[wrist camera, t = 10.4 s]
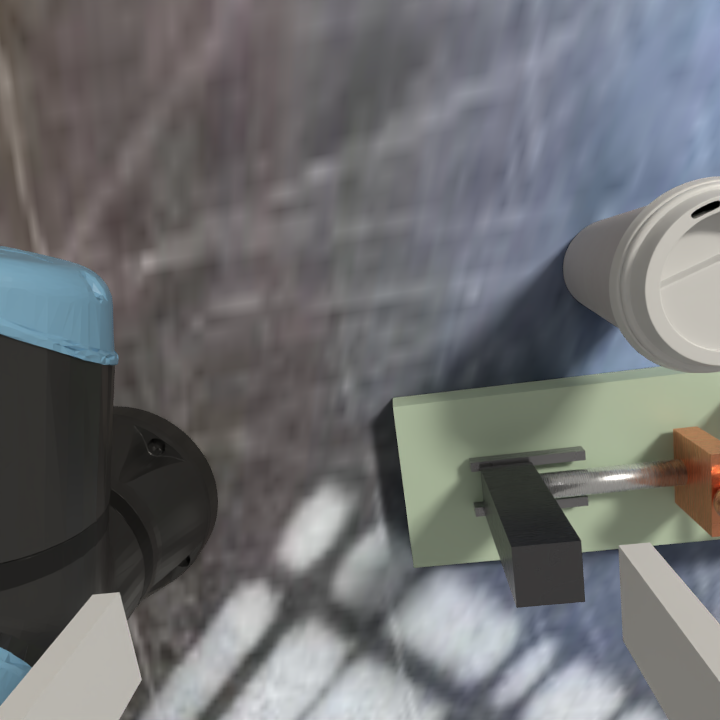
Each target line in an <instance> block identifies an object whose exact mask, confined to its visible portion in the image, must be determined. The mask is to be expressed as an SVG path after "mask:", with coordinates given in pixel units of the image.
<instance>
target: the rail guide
mask: <svg viewBox="0 0 720 720" xmlns="http://www.w3.org/2000/svg"><path fill="white" fill-rule="evenodd" d="M581 460H586V454H585V450H584V449H583V448H582V447H581V446H576V447H567V448H558V449H549V450H539V451H530V452H521V453H512V454H502V455H493V456H484V457H475V458H469V465H470V469H471V472H477V471H480V468H482V467H491V466H500V465H510V464H519V463H528V462H532V463H533V465H543V464H553V463H562V462H571V461H581ZM555 500H556V501H557V503H558V505H559V506H560V508H570V507H580V506H588V496H587V495H583V496H573V497H563V498H555ZM473 504H474V512H475V515H476V517H479V516H485V512H484V501H481V502H473Z"/></svg>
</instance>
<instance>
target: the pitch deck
mask: <svg viewBox="0 0 720 720" xmlns="http://www.w3.org/2000/svg"><path fill="white" fill-rule="evenodd" d="M393 412H394V419H395V427H396V435H397V442H398V450H399V458H400V465H401V473H402V481H403V488H404V496H405V504H406V511H407V519H408V527H409V534H410V542H411V550H412V557H413V565H414V568H419V567H429V566H440V565H451V564H461V563H472V562H483V561H494V560H500V557H499V554H498V551H497V548H496V546H495V543H494V540H493V537H492V534H491V531H490V528H489V525H488V522H487V519H486V516H479V517H476V515H475V512H474V504H473V502H481V501H483V491H482V481H481V471H477V472H471V469H470V465H469V458H475V457H484V456H493V455H502V454H512V453H521V452H530V451H539V450H549V449H558V448H567V447H576V446H581V447H582V448H583V449H584V450H585V454H586V460H581V461H571V462H562V463H553V464H543V465H534V467H535V468H536V470H537V471H538V473H548V472H557V471H567V470H576V469H586V468H595V467H605V466H615V465H624V464H634V463H643V462H653V461H662V460H672V459H674V447H673V429H677V428H686V427H695V426H697V427H699V428H700V429H702V430H704V431H705V432H707V433H709V434H710V435H712V436H713V437H715V438H717V439H718V440H720V372H713V373H687V372H680V371H675V370H671V369H668V368H665V367H662V366H661V367H652V368H644V369H635V370H627V371H618V372H610V373H601V374H593V375H584V376H576V377H567V378H559V379H550V380H542V381H533V382H525V383H516V384H508V385H499V386H491V387H482V388H474V389H465V390H457V391H448V392H440V393H431V394H423V395H414V396H406V397H397V398H393ZM587 496H588V506H580V507H570V508H561V509H562V511H563V513H564V514H565V516H566V517H567V519H568V520H569V522H570V524H571V525H572V527H573V528H574V530H575V532H576V533H577V535H578V536H579V538H580V539H581V545H582V552H590V551H601V550H611V549H619V545H628V544H638V543H649V542H650V543H651V544H652V545H653V546H654V545H665V544H676V543H686V542H697V541H708V540H718V539H720V536H719V537H711V536H710V535H709V534H708V533H707V532H706V531H705V530H704V529H703V528H702V527H701V526H699V525H698V524H697V523H696V522H695V521H694V520H693V519H692V518H691V517H690V516H689V515H688V514H687V513H686V512H684V511H683V510H682V509H681V508H680V507H679V506H678V505H677V504H676V503H675V488H674V486H672V487H662V488H652V489H642V490H632V491H622V492H612V493H602V494H593V495H587Z"/></svg>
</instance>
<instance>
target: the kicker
mask: <svg viewBox="0 0 720 720" xmlns="http://www.w3.org/2000/svg"><path fill="white" fill-rule="evenodd" d="M673 447H674V459H672V460H662V461H653V462H643V463H634V464H624V465H615V466H605V467H595V468H586V469H576V470H567V471H557V472H548V473H538V471H537V470H536V468H535V467H534V465H533V463H532V462H528V463H519V464H510V465H500V466H491V467H482V468H480V471H481V481H482V491H483V501H484V512H485V516H486V519H487V522H488V525H489V528H490V531H491V534H492V537H493V540H494V543H495V546H496V548H497V551H498V554H499V557H500V560H501V563H502V566H503V569H504V572H505V575H506V578H507V581H508V583H509V586H510V589H511V592H512V595H513V598H514V601H515V604H516V607H517V608H518V607H529V606H541V605H552V604H564V603H575V602H585V594H584V578H583V561H582V545H581V539H580V538H579V536H578V535H577V533H576V532H575V530H574V528H573V527H572V525H571V524H570V522H569V520H568V519H567V517H566V516H565V514H564V513H563V511H562V509H561V508H560V506H559V505H558V503H557V501H556V500H555V498H563V497H573V496H583V495H593V494H602V493H612V492H622V491H632V490H642V489H652V488H662V487H672V486H674V488H675V503H676V504H677V505H678V506H679V507H680V508H681V509H682V510H683V511H684V512H686V513H687V514H688V515H689V516H690V517H691V518H692V519H693V520H694V521H695V522H696V523H697V524H698V525H699V526H701V527H702V528H703V529H704V530H705V531H706V532H707V533H708V534H709V535H710V536H711V537H719V536H720V440H718V439H717V438H715V437H713V436H712V435H710V434H709V433H707V432H705V431H704V430H702V429H700V428H699V427H697V426H695V427H686V428H677V429H673Z"/></svg>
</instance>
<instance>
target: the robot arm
mask: <svg viewBox="0 0 720 720" xmlns="http://www.w3.org/2000/svg"><path fill="white" fill-rule="evenodd" d="M117 364H118V354H117V353H116V352H115V351H114V335H113V302H112V296H111V293H110V290H109V288H108V286H107V285H106V283H105V282H104V281H103V280H102V279H101V277H99V276H98V275H97V274H96V273H95V272H93V271H92V270H90V269H88V268H86V267H84V266H81V265H79V264H76V263H73V262H69V261H66V260H62V259H58V258H54V257H50V256H45V255H41V254H37V253H33V252H28V251H23V250H19V249H14V248H9V247H4V246H0V720H119V719H120V717H121V715H122V714H123V712H124V710H125V708H126V706H127V705H128V703H129V701H130V699H131V698H132V696H133V694H134V692H135V690H136V689H137V687H138V685H139V683H140V681H141V680H142V679H141V675H140V671H139V667H138V663H137V659H136V655H135V651H134V647H133V643H132V639H131V635H130V631H129V627H128V623H127V620H128V619H129V617H130V616H131V614H132V613H133V611H134V610H135V608H136V607H137V605H138V604H139V602H140V601H141V600H143V599H145V598H146V597H148V596H150V595H151V594H153V593H154V592H156V591H158V590H159V589H161V588H162V587H164V586H166V585H167V584H169V583H170V582H172V581H173V580H175V579H176V578H178V577H179V576H180V575H182V574H183V573H184V572H185V571H186V570H187V569H188V568H189V567H190V566H191V565H192V564H193V562H194V561H195V560H196V559H197V557H198V555H199V554H200V552H201V551H202V549H203V547H204V546H205V544H206V542H207V541H208V539H209V537H210V535H211V533H212V530H213V528H214V525H215V521H216V516H217V508H218V497H217V489H216V484H215V480H214V477H213V473H212V471H211V469H210V466H209V464H208V462H207V460H206V459H205V457H204V455H203V454H202V452H201V451H200V449H199V448H198V447H197V445H196V444H195V443H194V442H193V441H192V440H191V439H190V438H189V437H188V436H187V435H186V434H185V433H184V432H183V431H182V430H180V429H179V428H178V427H176V426H175V425H174V424H172V423H170V422H169V421H167V420H165V419H163V418H161V417H159V416H157V415H155V414H152V413H150V412H147V411H143V410H140V409H135V408H129V407H113V398H114V373H115V365H117ZM619 565H620V586H621V607H622V628H623V641H624V643H625V645H626V646H627V648H628V650H629V652H630V653H631V655H632V657H633V659H634V660H635V662H636V664H637V666H638V667H639V669H640V671H641V672H642V674H643V676H644V678H645V679H646V681H647V683H648V685H649V686H650V688H651V690H652V691H653V693H654V695H655V697H656V698H657V700H658V702H659V704H660V705H661V707H662V709H663V711H664V712H665V714H666V716H667V717H668V719H669V720H720V624H719V623H718V622H717V621H716V619H715V618H714V617H713V616H712V615H711V614H710V612H709V611H708V610H707V609H706V608H705V606H704V605H703V604H702V603H701V602H700V601H699V599H698V598H697V597H696V596H695V595H694V594H693V592H692V591H691V590H690V589H689V588H688V587H687V585H686V584H685V583H684V582H683V581H682V579H681V578H680V577H679V576H678V575H677V574H676V572H675V571H674V570H673V569H672V568H671V567H670V565H669V564H668V563H667V562H666V561H665V560H664V558H663V557H662V556H661V555H660V554H659V552H658V551H657V550H656V549H655V548H654V547H653V545H652V544H651V543H650V542H649V543H638V544H628V545H619Z"/></svg>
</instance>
